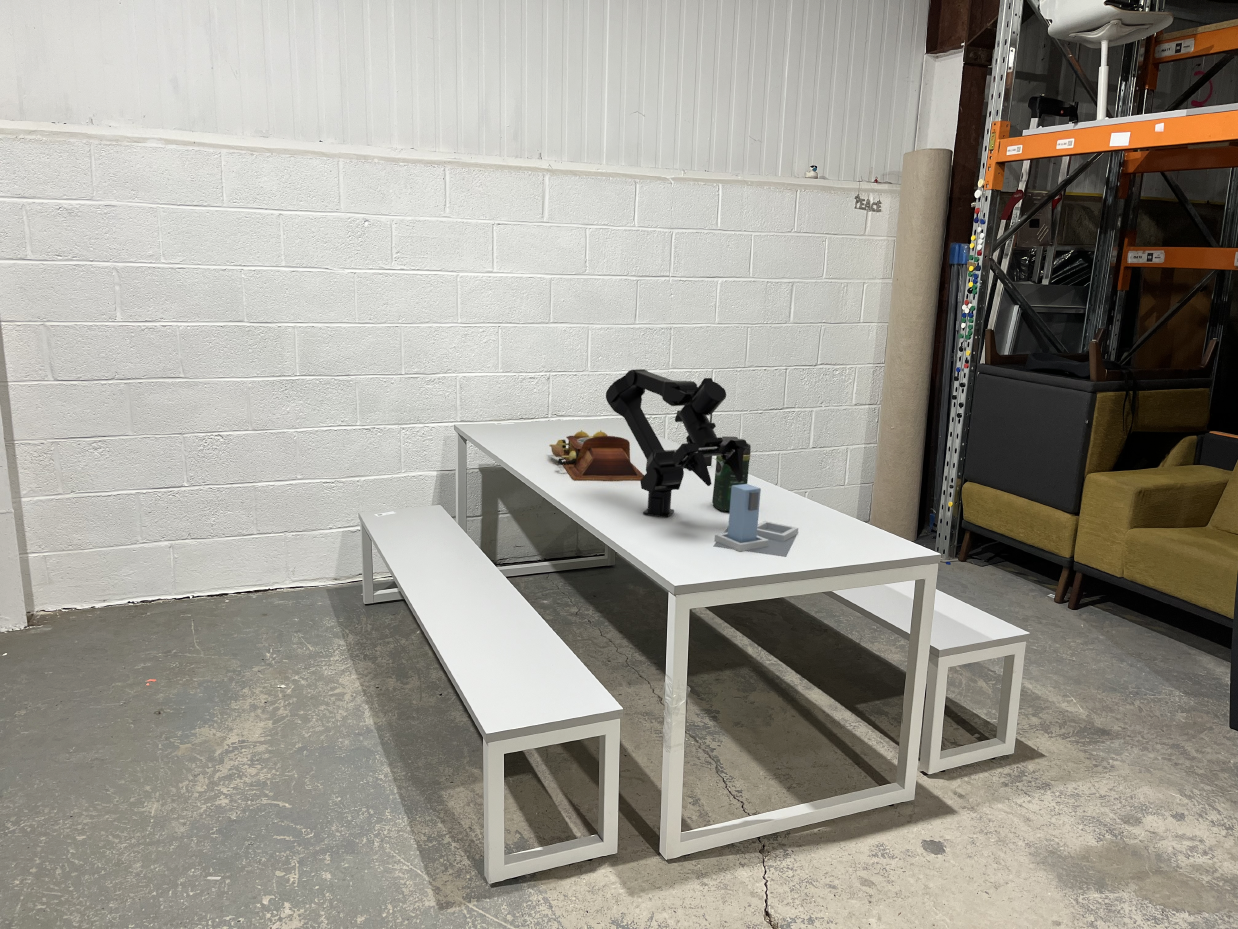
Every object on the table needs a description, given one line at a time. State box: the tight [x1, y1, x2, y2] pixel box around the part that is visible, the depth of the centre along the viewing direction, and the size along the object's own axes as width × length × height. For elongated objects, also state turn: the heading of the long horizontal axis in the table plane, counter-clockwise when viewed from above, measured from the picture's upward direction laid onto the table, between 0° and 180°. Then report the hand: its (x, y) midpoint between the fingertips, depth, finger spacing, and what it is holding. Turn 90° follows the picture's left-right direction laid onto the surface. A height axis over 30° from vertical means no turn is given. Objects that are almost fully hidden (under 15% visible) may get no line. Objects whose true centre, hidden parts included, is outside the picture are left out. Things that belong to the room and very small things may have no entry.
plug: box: [727, 483, 762, 543], centre depth 204 cm, size 5×4×13 cm
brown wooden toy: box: [548, 429, 645, 482], centre depth 279 cm, size 24×12×40 cm
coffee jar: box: [711, 436, 752, 512], centre depth 238 cm, size 10×8×19 cm
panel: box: [712, 520, 799, 558], centre depth 210 cm, size 22×17×2 cm
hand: (725, 483), depth 209 cm, fingers open, 9 cm apart
